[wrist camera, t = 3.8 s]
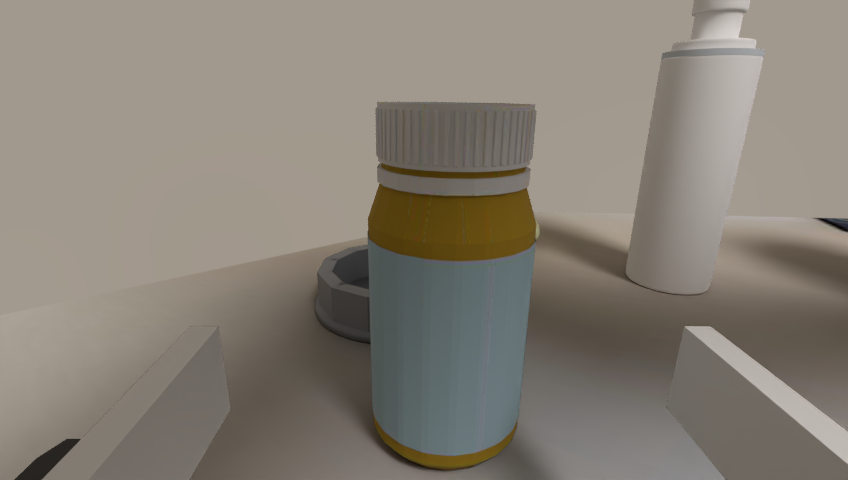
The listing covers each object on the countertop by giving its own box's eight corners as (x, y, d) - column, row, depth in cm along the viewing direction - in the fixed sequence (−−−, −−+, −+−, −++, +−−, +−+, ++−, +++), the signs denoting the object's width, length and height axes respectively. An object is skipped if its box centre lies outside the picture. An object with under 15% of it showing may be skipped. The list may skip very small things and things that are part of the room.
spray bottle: (624, 261, 43) (672, -26, 36) (702, 272, 41) (771, -34, 33) (625, 287, 37) (683, -51, 30) (716, 301, 35) (805, -63, 27)
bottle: (352, 401, 23) (340, 101, 18) (464, 365, 26) (477, 102, 22) (413, 505, 17) (416, 104, 13) (547, 443, 20) (590, 105, 16)
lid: (464, 273, 40) (465, 241, 39) (483, 344, 28) (486, 301, 27) (331, 273, 39) (329, 240, 39) (297, 344, 28) (293, 300, 27)
